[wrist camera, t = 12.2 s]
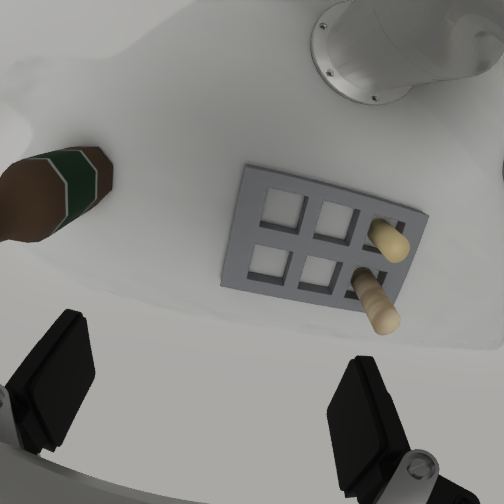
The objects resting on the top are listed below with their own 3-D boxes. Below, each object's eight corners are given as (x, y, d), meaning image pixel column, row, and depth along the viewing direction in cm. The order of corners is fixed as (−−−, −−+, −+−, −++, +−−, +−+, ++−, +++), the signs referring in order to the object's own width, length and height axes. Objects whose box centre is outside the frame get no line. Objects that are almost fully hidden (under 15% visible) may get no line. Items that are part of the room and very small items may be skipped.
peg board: (421, 211, 36) (445, 227, 30) (383, 308, 41) (398, 334, 35) (245, 164, 34) (243, 172, 29) (221, 278, 39) (216, 304, 34)
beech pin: (375, 269, 39) (405, 313, 30) (367, 290, 40) (393, 336, 31) (354, 265, 39) (380, 309, 29) (346, 286, 40) (369, 333, 30)
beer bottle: (105, 133, 33) (-62, 173, 10) (124, 195, 36) (-16, 299, 13) (55, 156, 33) (-100, 216, 11) (74, 213, 36) (-62, 313, 14)
